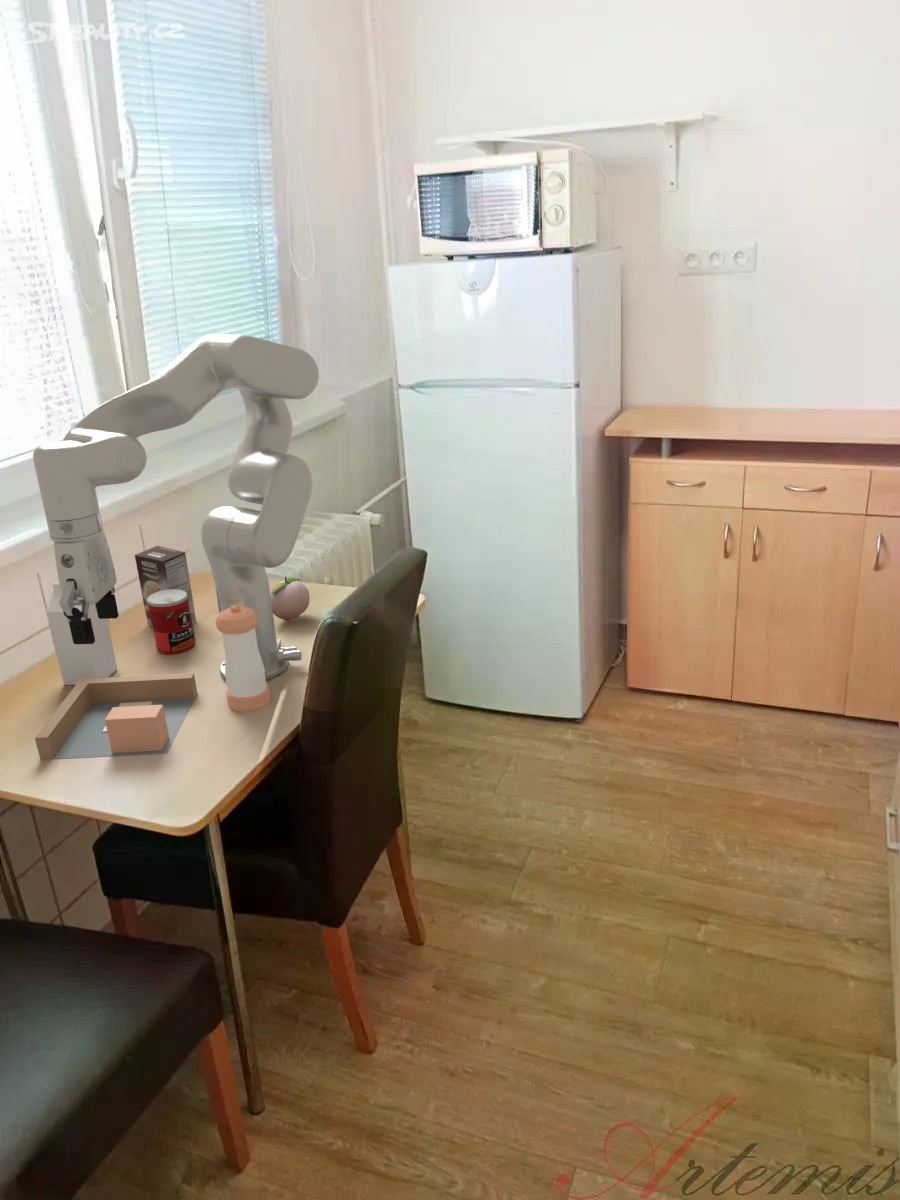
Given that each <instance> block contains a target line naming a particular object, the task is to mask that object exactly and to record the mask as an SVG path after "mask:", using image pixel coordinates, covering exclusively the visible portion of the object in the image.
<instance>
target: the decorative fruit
mask: <svg viewBox="0 0 900 1200" xmlns="http://www.w3.org/2000/svg"><path fill="white" fill-rule="evenodd" d="M270 597H271V604H272V611H273V616H275V617H277V618H279V619H280V620H282V621H283V620H284V621H286V622H287V621H288V622H290V621H289V620H292V619H293V620H295V619H297V618H298V617H300V615H302V614H303V613H305V612H306V610H307V609H308V608H309V605H310V597H311V596H310V592H309V589H308V587H307V586H306V585H305V584H304V583H302V582H301V579H300V578H299V577H295V576H290V577H288V578H287V576H284V579H283V580H281V581H280V582H278V583H277V584H275V585H273V587H272V588H271V589H270ZM293 620H292V621H293Z"/></svg>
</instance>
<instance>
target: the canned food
mask: <svg viewBox="0 0 900 1200" xmlns="http://www.w3.org/2000/svg"><path fill="white" fill-rule="evenodd" d="M147 601H148V602H147V603H148V609H149V614H150V619H151V624H152V626H151V628H152V633H153V638H154V643H155V647H156V649H157V651H158V652H159V653H160V654H164V655H177V654H178V655H179V654H183V653H185V652H188V651H189V650H191V649H193V648H194V646H195V644H196V643H195V642H196V638H195V637H196V636H195V632H194V631H195V630H194V626H193V625H194V624H192V618H191V612H190V607H189V601H188V596H187V593H186V592H185V591H183V590H177V589H170V590H163V591H159V592H156V593H154V594H152V595H150V596H149V597H148V598H147Z"/></svg>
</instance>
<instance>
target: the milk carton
mask: <svg viewBox="0 0 900 1200" xmlns="http://www.w3.org/2000/svg"><path fill="white" fill-rule="evenodd" d="M52 587H53V590H52V594H51V596H50V599H49V602H48V605H47V609H46V611H45V612H46V616H47V620H48V623H49V628H50V632H51V637H52V641H53V644H54V650H55V654H56V656H57V661H58V665H59V668H60V675H61V679H62V682H63V684H64V685H65V686H66V685H67V686H69V685H70V686H75V685H76V684H77V683H78V682H79V680H80V679H87V678H106V677H111V676H112V674H114V673H115V672H116V671H117V670H118V665H117V660H116V659H117V658H116V655H115V651H114V647H113V646H114V645H113V642H112V637H111V631H110V627H109V622H108V619H99V618H98V614H97V610H96V605H95V604H91V603H90V602H89V610H88V618H91V622H92V627H93V632H94V637H95V642H94V643H93V644H74V643H73V639H72V635H71V630H70V625H69V622H68V621H67V619H66V616H65V615H64V613H63V610H62V608H61V606H60V603H59V602H60V599H61V596H62V593H61V589H60V584H59V583H52ZM79 599H83V598H78V599H76V600H79ZM74 608H77V609H79V610H80V611H81V610H82V605H80V606H75V607H74Z"/></svg>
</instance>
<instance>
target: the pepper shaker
mask: <svg viewBox="0 0 900 1200" xmlns="http://www.w3.org/2000/svg"><path fill="white" fill-rule="evenodd" d="M257 623H258V616H257V614H256V612H255V611H254V610H253V609H251V608H249V607H243V606H239V605H233V606H231V608H228V609H226V610H224V611H222V612H220V613H219V612H218V614H217V616H216V619H215V626H216V629H217V630H218V632H219V633H221V634H222V642H223V649H224V661H225V677H226V679H225V680H226V686H227V690H226V702H227V706H228V708H229V709H231V710H232V711H236V712H252V711H256V710H259V709H261V708H264V707H265V706H266V705H268V704H269V702H270V701H271V692H270V686H269V684H268V683H267V680H266V678H265V669H264V665H263V662H262V659H261V656H260V653H259V650H258V645H257V639H256V632H255V627H256V626H257Z"/></svg>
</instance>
